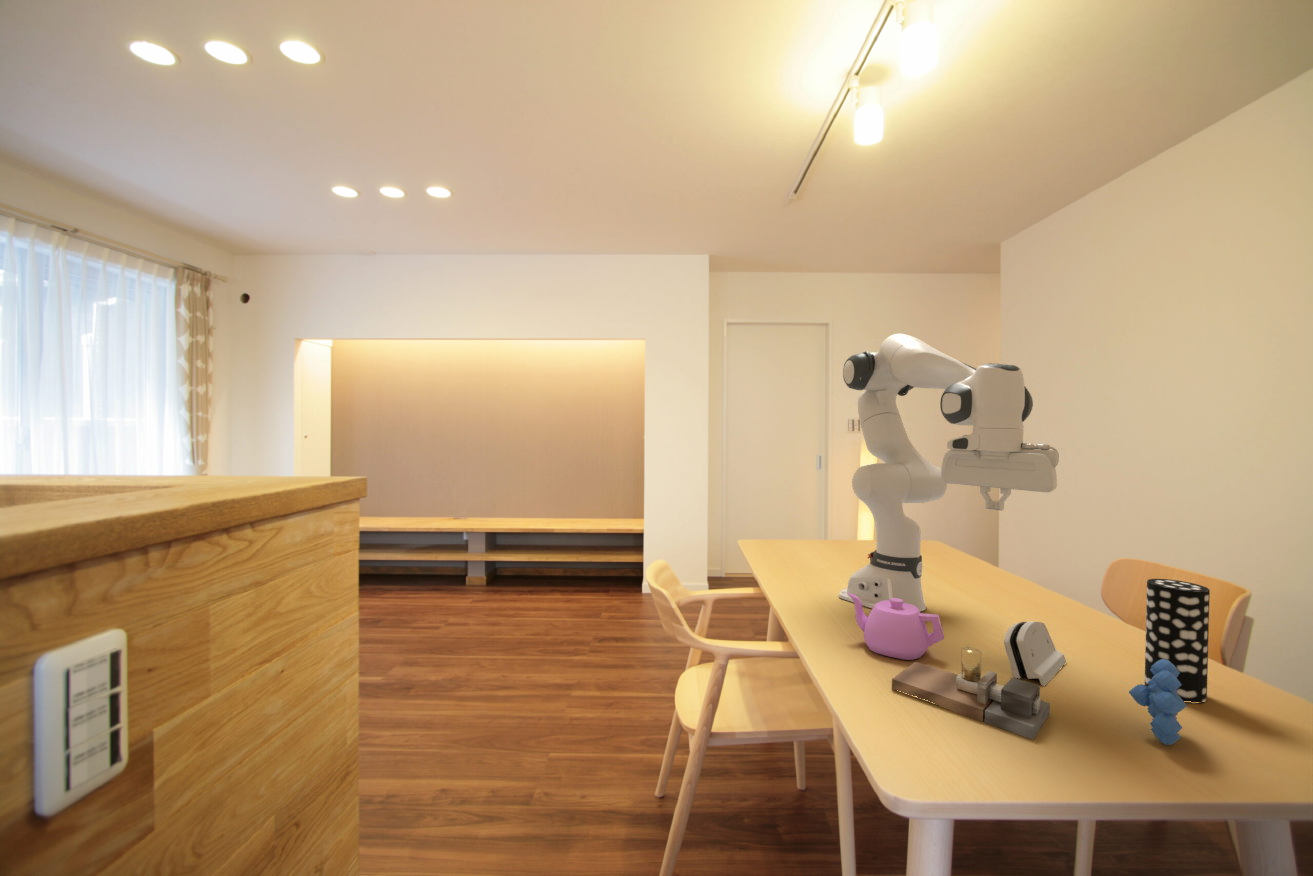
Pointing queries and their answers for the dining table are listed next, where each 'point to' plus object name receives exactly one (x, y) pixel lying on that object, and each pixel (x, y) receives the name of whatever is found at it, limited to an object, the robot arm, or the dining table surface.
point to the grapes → (1162, 701)
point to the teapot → (897, 628)
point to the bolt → (973, 674)
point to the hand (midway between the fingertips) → (994, 509)
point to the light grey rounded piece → (1032, 652)
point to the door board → (977, 698)
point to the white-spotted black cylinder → (1179, 633)
